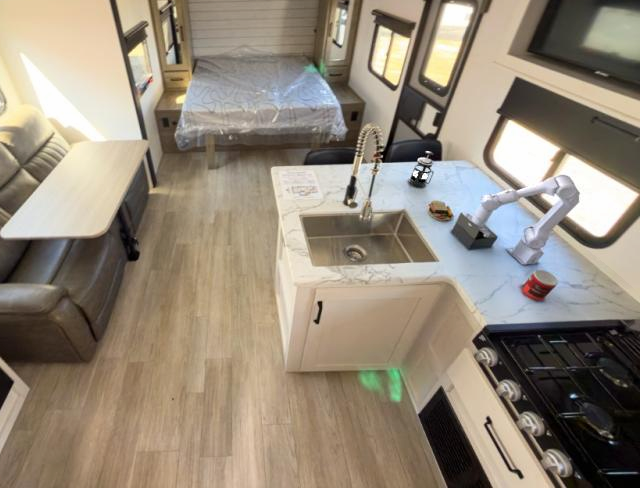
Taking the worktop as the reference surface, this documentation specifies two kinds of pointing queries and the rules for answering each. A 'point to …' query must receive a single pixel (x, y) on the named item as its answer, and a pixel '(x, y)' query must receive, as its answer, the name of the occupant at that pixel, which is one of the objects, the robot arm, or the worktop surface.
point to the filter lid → (467, 225)
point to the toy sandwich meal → (440, 211)
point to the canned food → (539, 285)
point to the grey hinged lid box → (474, 243)
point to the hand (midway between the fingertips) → (469, 236)
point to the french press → (422, 172)
